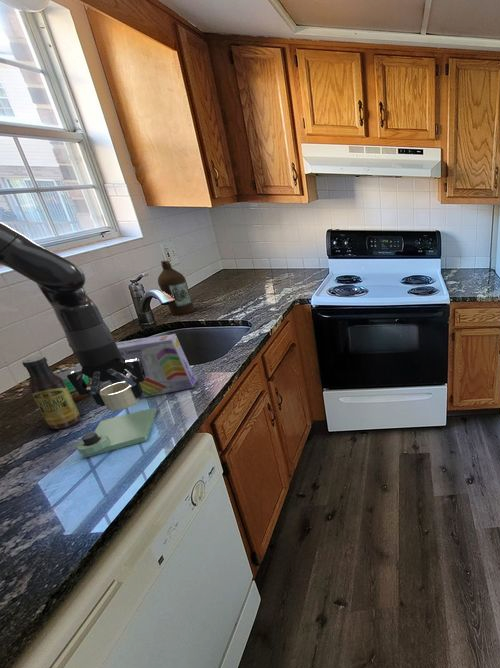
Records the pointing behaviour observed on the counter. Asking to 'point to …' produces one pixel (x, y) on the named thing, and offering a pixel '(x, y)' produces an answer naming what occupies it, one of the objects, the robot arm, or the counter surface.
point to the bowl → (118, 396)
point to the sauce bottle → (51, 394)
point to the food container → (73, 392)
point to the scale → (120, 432)
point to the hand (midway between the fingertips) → (121, 400)
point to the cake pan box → (159, 364)
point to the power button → (90, 439)
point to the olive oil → (175, 289)
